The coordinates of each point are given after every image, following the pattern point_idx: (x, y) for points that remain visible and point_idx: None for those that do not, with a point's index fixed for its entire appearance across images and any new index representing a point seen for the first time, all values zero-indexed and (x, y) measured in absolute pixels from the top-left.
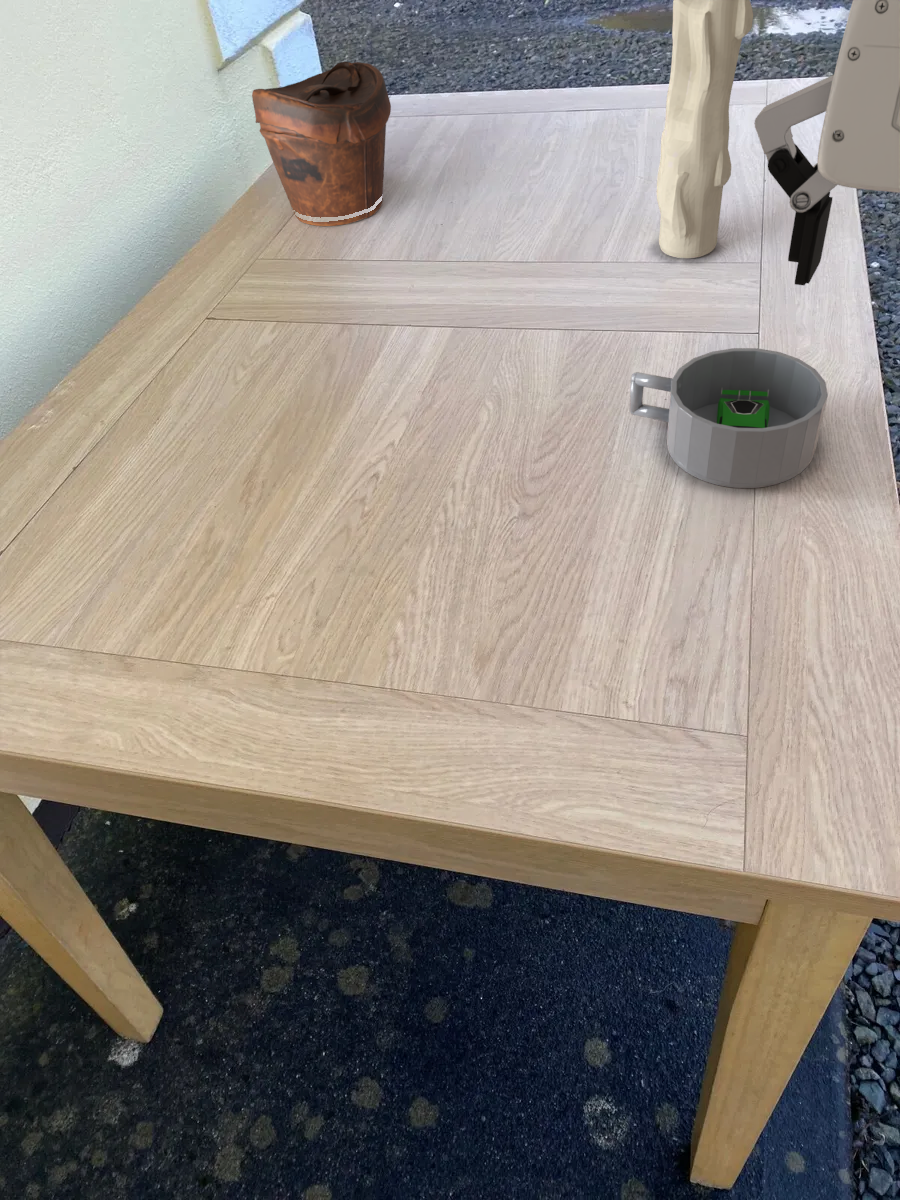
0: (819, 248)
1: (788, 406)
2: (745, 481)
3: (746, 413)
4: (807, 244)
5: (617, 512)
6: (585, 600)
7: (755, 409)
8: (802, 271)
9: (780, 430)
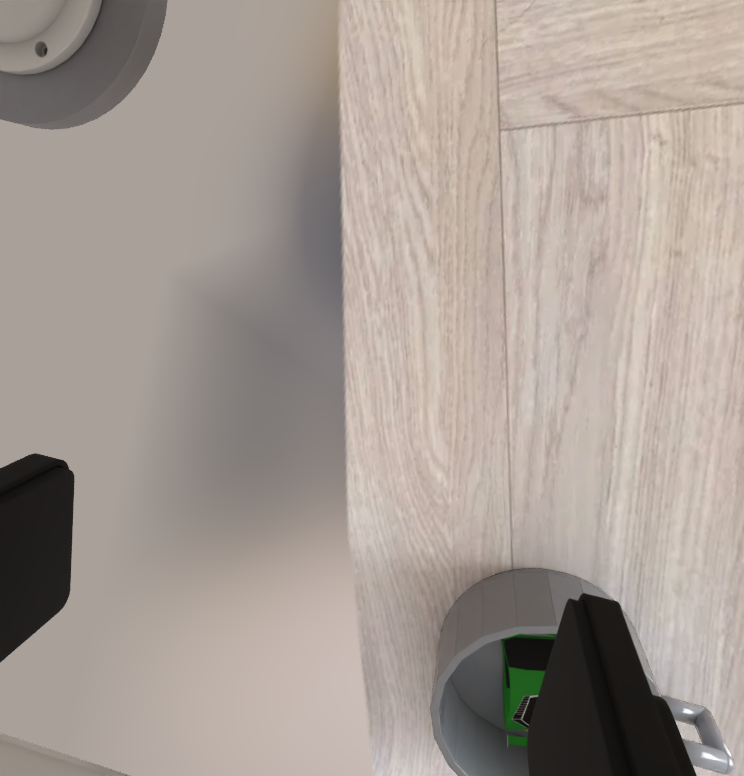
0: (552, 739)
1: (476, 722)
2: (526, 575)
3: (536, 697)
4: (629, 696)
5: (705, 505)
6: (739, 320)
7: (523, 706)
8: (606, 621)
9: (492, 631)
